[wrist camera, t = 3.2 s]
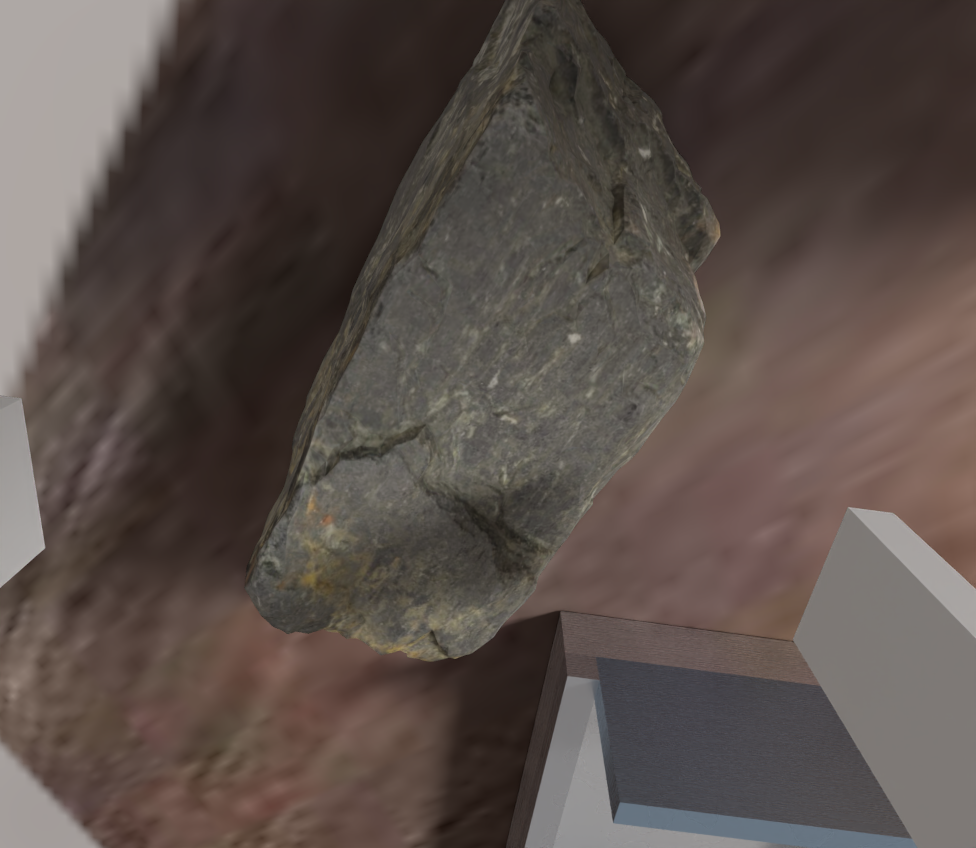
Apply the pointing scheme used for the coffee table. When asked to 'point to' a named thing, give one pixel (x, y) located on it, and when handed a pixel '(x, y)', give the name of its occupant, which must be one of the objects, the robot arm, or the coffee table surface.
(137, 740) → the coffee table surface
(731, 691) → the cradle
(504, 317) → the rock
